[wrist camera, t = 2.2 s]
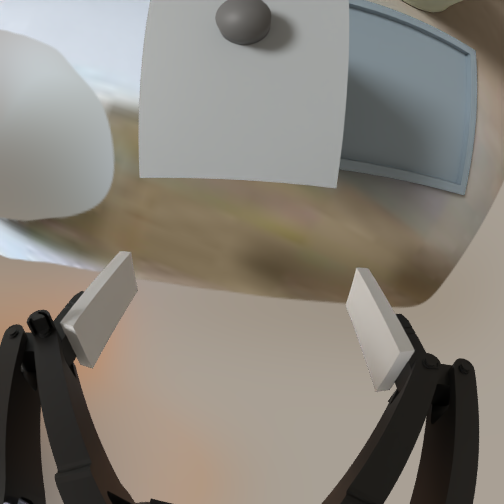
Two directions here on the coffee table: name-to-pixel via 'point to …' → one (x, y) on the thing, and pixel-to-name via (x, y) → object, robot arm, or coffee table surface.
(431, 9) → the can
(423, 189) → the coffee table surface
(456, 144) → the tray
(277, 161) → the box
